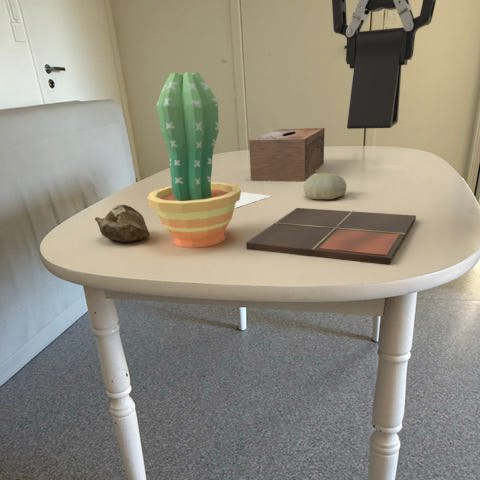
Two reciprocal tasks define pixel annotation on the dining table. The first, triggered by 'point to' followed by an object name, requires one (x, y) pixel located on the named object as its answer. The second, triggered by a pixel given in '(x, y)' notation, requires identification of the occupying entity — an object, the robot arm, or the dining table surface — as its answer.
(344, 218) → the board
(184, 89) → the potted cactus
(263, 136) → the tissue box cover
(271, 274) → the dining table surface
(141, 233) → the fossilized seashell
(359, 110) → the phone stand
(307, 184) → the sea urchin shell
